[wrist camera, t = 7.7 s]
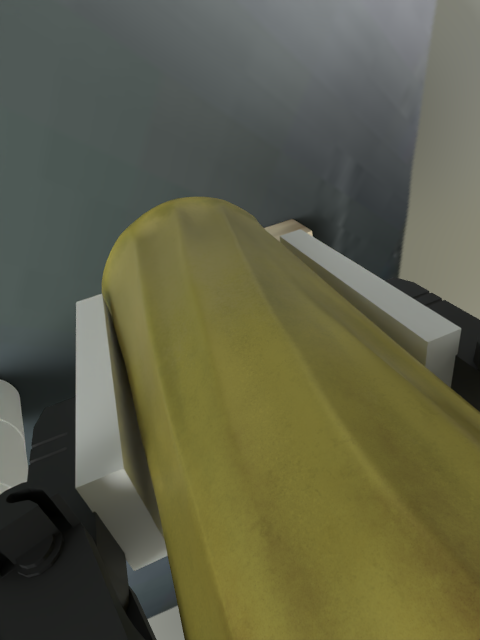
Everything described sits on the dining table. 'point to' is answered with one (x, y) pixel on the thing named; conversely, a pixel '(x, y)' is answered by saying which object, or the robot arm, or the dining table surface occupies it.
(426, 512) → the vase
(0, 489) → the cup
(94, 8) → the dining table surface
